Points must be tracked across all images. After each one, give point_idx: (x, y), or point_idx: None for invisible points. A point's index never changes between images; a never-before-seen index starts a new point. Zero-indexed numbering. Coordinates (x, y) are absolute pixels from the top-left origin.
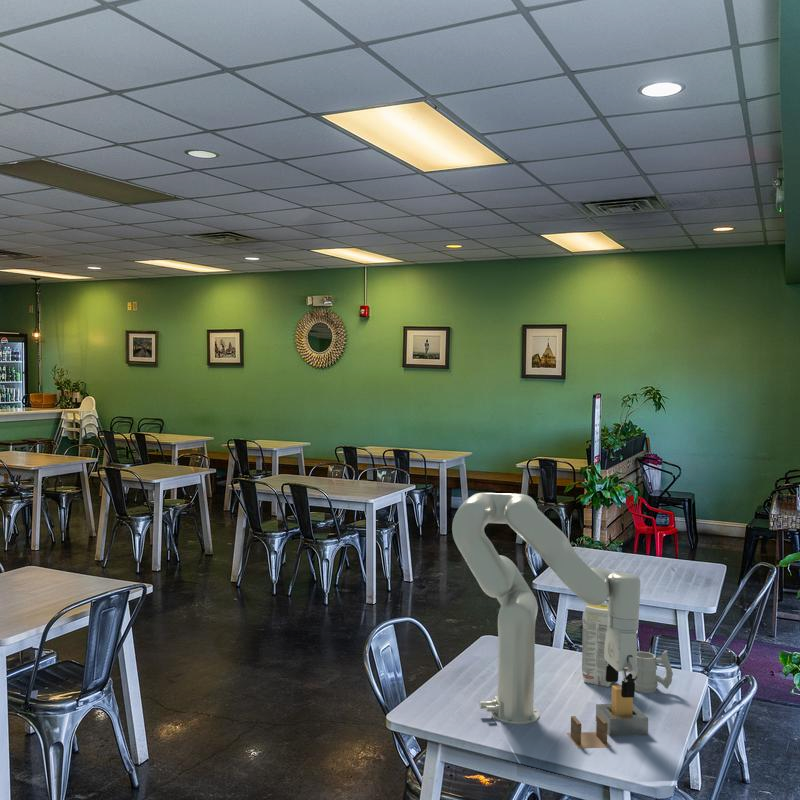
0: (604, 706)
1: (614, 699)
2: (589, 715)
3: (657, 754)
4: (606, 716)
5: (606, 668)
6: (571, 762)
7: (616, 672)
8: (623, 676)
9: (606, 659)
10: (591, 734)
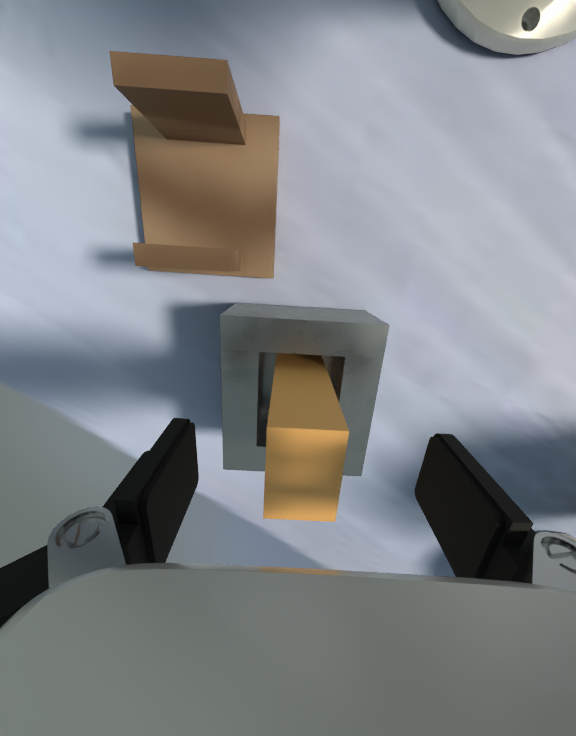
0: (357, 353)
1: (296, 394)
2: (433, 318)
3: (131, 404)
4: (261, 316)
5: (510, 503)
6: (34, 24)
7: (446, 539)
8: (96, 553)
9: (531, 620)
10: (254, 236)
